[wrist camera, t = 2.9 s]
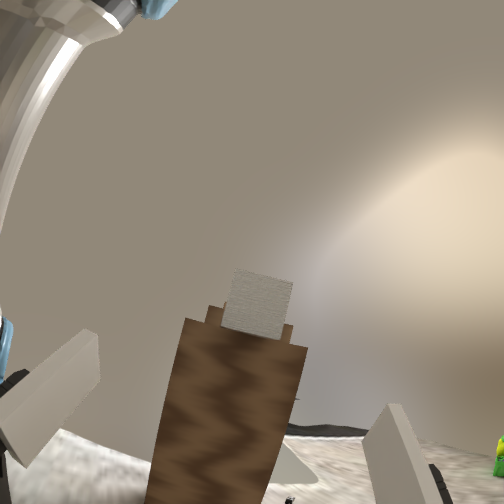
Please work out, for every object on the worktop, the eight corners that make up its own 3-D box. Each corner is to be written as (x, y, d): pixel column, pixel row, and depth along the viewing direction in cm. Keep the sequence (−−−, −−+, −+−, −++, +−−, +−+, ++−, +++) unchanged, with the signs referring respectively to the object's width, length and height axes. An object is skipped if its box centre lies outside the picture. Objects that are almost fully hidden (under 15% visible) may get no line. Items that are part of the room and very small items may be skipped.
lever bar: (220, 325, 16) (235, 268, 17) (233, 331, 40) (238, 308, 41) (279, 340, 16) (293, 282, 17) (256, 337, 40) (262, 314, 41)
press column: (139, 535, 17) (196, 277, 27) (167, 485, 33) (212, 299, 42) (236, 559, 17) (316, 307, 27) (237, 502, 32) (289, 317, 42)
